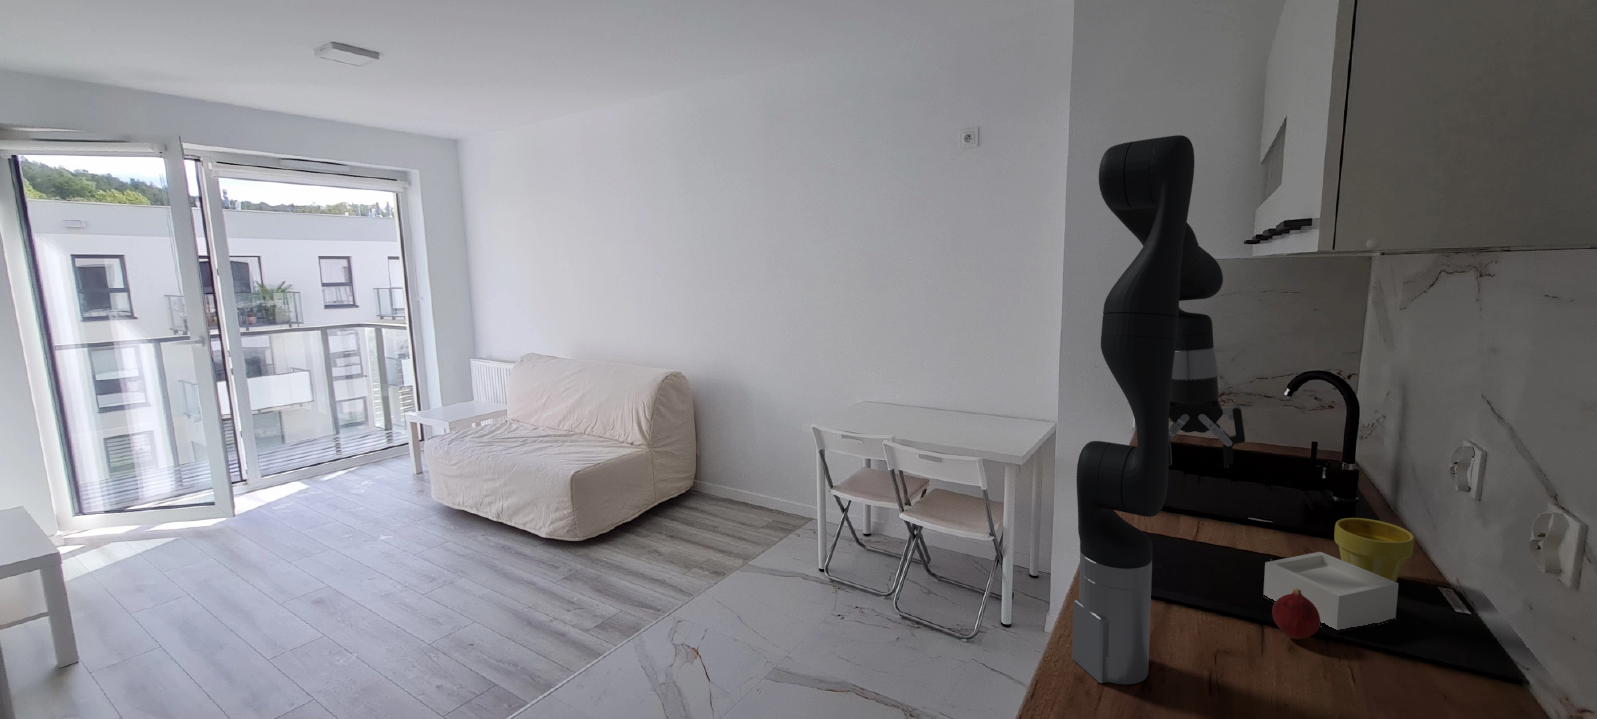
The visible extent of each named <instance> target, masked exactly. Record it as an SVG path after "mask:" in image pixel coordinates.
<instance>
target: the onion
mask: <svg viewBox="0 0 1597 719" xmlns="http://www.w3.org/2000/svg"><path fill="white" fill-rule="evenodd" d="M1271 613H1272V614H1271V615H1272V620H1273V621H1274V623H1275V625H1276V626H1277V627H1278V628H1279V630H1281V632H1282V633H1283V634H1285V635H1286V636H1288V637H1289V638H1290V639H1292V640H1300V639H1307V638H1309V637H1312V636H1313V635H1315V634H1316V633H1317V631H1318V630H1319V629H1320V627H1321V626H1320V616H1319V613H1318V610H1317V608H1316V607H1315V606H1314V604H1313V603H1312V602H1311V601H1310V600H1308V599H1307V598H1306V597H1304V596H1303V595H1302V594H1301V590H1299V589H1297V588H1295V589H1294V590H1293V592H1292V594H1288V595H1284V596H1282V597H1281V598H1279V599H1278V600H1277V601H1276V602H1273V605H1272V609H1271Z"/></svg>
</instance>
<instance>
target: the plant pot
mask: <svg viewBox="0 0 1597 719" xmlns="http://www.w3.org/2000/svg"><path fill="white" fill-rule="evenodd" d="M1333 535H1334V539H1333V540H1334V541H1335V544H1336V545H1337V546H1338V549H1339V554H1340V560H1342V561H1345V562H1347V563H1350V564H1352V565H1355V566H1357V567H1359V568H1362V569H1364V570H1367V571H1369V572H1372V573H1374V574H1377V575H1379V576H1382V577H1384V578H1387V579H1389V580H1391V581H1394V582H1396V583H1397V581H1398V578H1399V575H1400V574H1401V571H1402V569H1403V567H1404V564H1405V562H1406V560H1409V559H1410V558H1411V557H1412V556H1413V552H1414V548H1415V546H1414V545H1415V536H1414V535H1413V533H1411V532H1410V531H1409V530H1407V529H1405V528H1403V527H1401V526H1398V525H1395V524H1392V523H1388V522H1385V521H1382V520H1377V519H1376V520H1375V519H1370V518H1364V517H1363V518H1362V517H1361V518H1360V517H1348V518H1347V517H1346V518H1340V519H1339V520H1337V521H1336V522H1335V525H1334V534H1333Z"/></svg>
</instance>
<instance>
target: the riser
mask: <svg viewBox="0 0 1597 719" xmlns="http://www.w3.org/2000/svg"><path fill="white" fill-rule="evenodd" d="M1399 584H1400V583H1398V582H1397V581H1396V582H1394V581H1391V580H1389V579H1387V578H1384V577H1382V576H1379V575H1377V574H1374V573H1372V572H1369V571H1367V570H1364V569H1362V568H1359V567H1357V566H1355V565H1352V564H1350V563H1347V562H1345V561H1342V560H1341V558H1340V559H1339V558H1337V557H1334V556H1332V555H1330V554H1327V553H1325V552H1322V551H1316V552H1312V553H1305V554H1302V555H1297V556H1292V557H1285V558H1281V559H1276V560H1271V561H1265V564H1264V581H1263V595H1265V596H1267V597H1268V598H1270V599H1273V600H1274V601H1277V600H1278V599H1279V598H1281V597H1282V596H1284V595H1288V594H1292V592H1293V590H1294V589H1295V588H1297V589H1299V590H1301V594H1302V595H1303V596H1304V597H1306V598H1307V599H1308V600H1310V601H1311V602H1312V603H1313V604H1314V606H1315V607H1316V608H1317V610H1318V613H1319V616H1320V622H1321V623H1325V624H1326V625H1328V626H1329V627H1332V628H1334V629H1336V630H1340V629H1346V628H1350V627H1357V626H1363V625H1368V624H1372V623H1380V622H1383V621H1386V620H1389V619H1393V618H1395V619H1396V617H1397V616H1396V615H1397V607H1398V606H1397V605H1398V596H1399V593H1398V592H1399ZM1268 598H1267V599H1268Z"/></svg>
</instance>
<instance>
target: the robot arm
mask: <svg viewBox="0 0 1597 719" xmlns="http://www.w3.org/2000/svg"><path fill="white" fill-rule="evenodd" d="M1194 151H1195V150H1194V146H1193V144H1192V141H1191V140H1190V138H1189V137H1187V136H1186V135H1183V134H1182V135H1181V134H1180V135H1178V134H1177V135H1168V136H1167V135H1166V136H1161V137H1155V138H1154V137H1153V138H1149V139H1148V138H1147V139H1142V140H1135V141H1129V142H1128V141H1127V142H1123V143H1119V144H1115V145H1113V146H1111V147H1109V148H1107V150H1106V151H1105V152H1104V153H1103V155H1102V157H1101V160H1100V163H1099V169H1098V185H1099V190H1100V194H1101V197H1102V200H1103V201H1104V203H1105V205H1106V206H1107V208H1108V209H1109V210H1110V212H1112V213H1113V214H1114V216H1116V217H1117V219H1119V221H1120V222H1121V223H1122V224H1123V225H1124V227H1126V228H1127V229H1128V231H1130V232H1131V234H1132V235H1134V237H1135V238H1136V239H1137V240H1138V241H1139V242H1140V244H1141V245H1142V247H1141V249H1140V251H1139V252H1138V254H1137V255H1136V256H1135V258H1134V259H1133V260H1132V262H1130V264H1129V265H1128V267H1127V268H1126V269H1125V270H1124V272H1123V273H1122V274H1121V276H1120V277H1119V278H1118V279H1117V281H1116V282H1115V283H1114V285H1113V286H1112V288H1111V289H1110V290H1109V292H1108V294H1107V296H1106V297H1105V301H1104V303H1103V309H1102V323H1101V332H1100V333H1101V335H1100V349H1101V350H1100V351H1101V353H1102V354H1101V355H1102V356H1103V359H1104V361H1105V363H1106V365H1107V367H1108V369H1109V370H1110V372H1111V374H1112V376H1113V378H1114V379H1115V381H1116V383H1117V384H1118V386H1119V388H1120V389H1121V391H1122V392H1123V394H1124V396H1125V398H1126V400H1127V403H1128V405H1129V407H1130V409H1131V412H1132V415H1133V419H1134V422H1135V429H1136V436H1137V446H1136V445H1129V444H1122V443H1117V442H1111V441H1110V442H1109V441H1102V440H1092V441H1089V442H1087V443H1086V444H1085V445H1084V446H1083V447H1082V449H1081V451H1080V454H1079V455H1078V461H1077V466H1076V496H1077V497H1076V498H1077V528H1078V537H1079V581H1078V582H1079V585H1078V587H1079V590H1078V592H1079V593H1078V596H1079V597H1078V598H1076V599H1073V602H1072V603H1073V604H1072V656H1071V658H1072V660H1073V661H1074V662H1075V663H1076V664H1078V666H1080V668H1082V669H1083V670H1084V671H1086V672H1087V674H1088V675H1090V676H1091V677H1092V678H1093V679H1095V680H1096V681H1097V682H1098V683H1099V684H1104V683H1112V684H1117V685H1135V684H1138V683H1139V684H1140V683H1142V682H1143V681H1144V680H1146V679H1147V677H1148V675H1149V661H1150V660H1149V659H1150V636H1151V635H1150V634H1151V632H1150V630H1151V603H1152V601H1151V600H1152V598H1151V597H1152V596H1151V595H1152V575H1153V574H1152V571H1153V543H1152V540H1151V539H1150V537H1149V536H1148V535H1147V534H1146V533H1145V532H1144V531H1143V530H1140V529H1139V528H1137V527H1135V526H1134V525H1133V524H1130V523H1129V522H1128V521H1126V520H1125V519H1123V518H1122V517H1121V516H1120V515H1119V514H1118V513H1117V512H1123V513H1126V514H1131V515H1136V516H1140V517H1147V518H1149V517H1150V518H1151V517H1156V516H1157V515H1159V514H1160V512H1161V511H1162V510H1163V508H1164V504H1165V501H1166V499H1167V493H1168V492H1167V491H1168V484H1169V466H1172V464H1173V456H1172V444H1171V441H1172V440H1173V438H1174V437H1175V436H1176V435H1177V434H1178V432H1180V431H1182V432H1184V433H1193V432H1195V433H1201V434H1203V433H1207V432H1209V431H1210V432H1211V433H1212V434H1213V435H1214V436H1215V437H1217V438H1218V439H1219V441H1220V442H1221V443H1222V455H1223V456H1222V457H1223V458H1222V459H1223V460H1222V461H1223V468H1229V466H1230V465H1233V463H1234V452H1233V447H1234V446H1235V445H1237V444H1244V443H1245V441H1246V435H1245V429H1244V422H1243V413H1242V408H1241V406H1240V405H1234V406H1232V407H1222V406H1221V404H1220V398H1219V383H1218V382H1219V380H1218V365H1217V357H1216V353H1215V347H1214V346H1215V345H1214V332H1213V330H1214V329H1213V328H1214V327H1213V321H1212V320H1213V319H1212V318H1211V316H1209V315H1208V314H1204V313H1197V312H1189V311H1185V310H1183V309H1182V308H1180V302H1182V301H1195V300H1205V299H1209V298H1212V297H1214V296H1215V295H1217V294H1218V293H1219V292H1220V291H1221V288H1222V286H1223V283H1224V277H1223V276H1224V275H1223V271H1222V268H1221V266H1220V264H1219V262H1218V261H1217V260H1216V258H1214V256H1212V255H1211V253H1209V252H1208V251H1207V250H1205V249H1203V248H1202V247H1201V246H1200V244H1199V243H1198V239H1197V236H1196V234H1195V232H1194V230H1193V227H1191V225H1190V224H1189V223H1188V216H1189V210H1190V204H1191V198H1192V192H1193V184H1194V175H1195V152H1194ZM1223 415H1225V416H1226V417H1227V420H1230V421H1233V423H1234V432H1235V434H1233V435H1229V434H1228V433H1227V431H1225V430H1224V428H1223V427H1222V426H1221V425H1220V424H1219V423H1218V422H1219V420H1220V419H1221V418H1222V416H1223ZM1170 420H1171V422H1172V424H1171V426H1170Z"/></svg>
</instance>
